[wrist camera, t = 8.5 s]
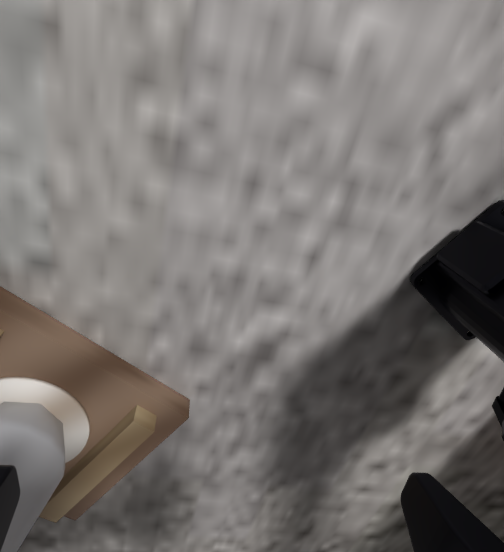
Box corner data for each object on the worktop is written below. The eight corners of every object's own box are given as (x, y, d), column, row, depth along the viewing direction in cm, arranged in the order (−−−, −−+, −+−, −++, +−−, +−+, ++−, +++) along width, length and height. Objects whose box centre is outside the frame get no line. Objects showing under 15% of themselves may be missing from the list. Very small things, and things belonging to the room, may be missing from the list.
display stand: (189, 399, 24) (187, 434, 21) (81, 499, 27) (69, 539, 24) (-29, 269, 19) (-64, 295, 16) (-132, 410, 22) (-175, 450, 19)
